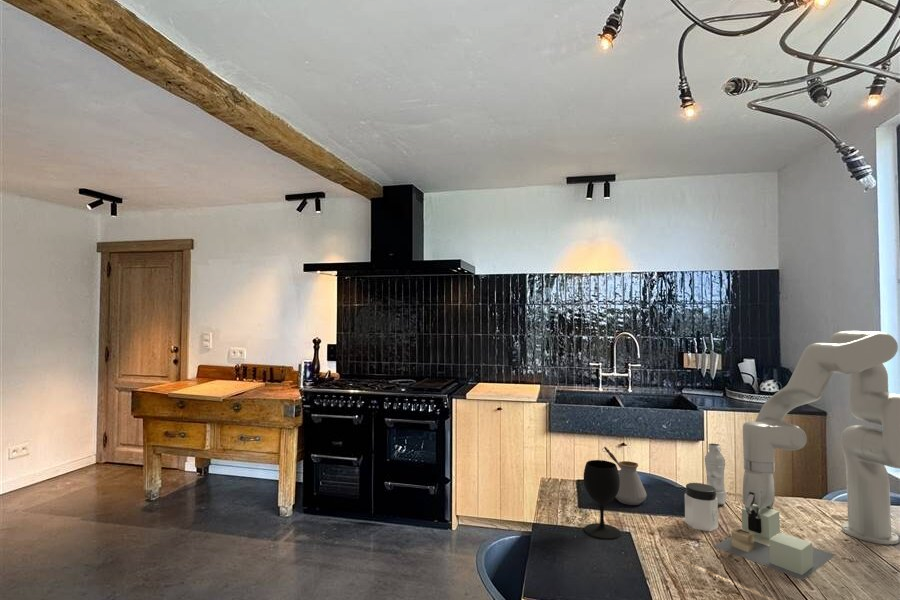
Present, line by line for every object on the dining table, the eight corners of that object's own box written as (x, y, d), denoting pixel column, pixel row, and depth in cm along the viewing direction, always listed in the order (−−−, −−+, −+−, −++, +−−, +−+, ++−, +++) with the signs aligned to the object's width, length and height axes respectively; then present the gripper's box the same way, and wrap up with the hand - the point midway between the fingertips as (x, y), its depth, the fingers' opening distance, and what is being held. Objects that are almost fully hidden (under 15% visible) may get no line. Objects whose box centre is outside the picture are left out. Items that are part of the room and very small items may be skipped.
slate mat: (750, 528, 143) (750, 526, 143) (836, 556, 125) (835, 554, 126) (713, 548, 130) (713, 545, 130) (802, 582, 113) (802, 579, 113)
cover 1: (753, 523, 141) (752, 503, 141) (779, 532, 135) (779, 511, 135) (742, 529, 137) (741, 508, 137) (769, 538, 131) (768, 516, 131)
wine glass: (621, 542, 134) (619, 471, 135) (583, 536, 137) (582, 467, 138) (620, 527, 144) (619, 460, 145) (585, 522, 147) (584, 457, 148)
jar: (707, 535, 138) (706, 494, 139) (680, 525, 145) (679, 486, 146) (722, 528, 143) (721, 488, 144) (696, 518, 150) (695, 480, 150)
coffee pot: (654, 505, 161) (653, 461, 162) (624, 508, 158) (623, 463, 159) (618, 484, 182) (617, 445, 182) (591, 487, 179) (590, 447, 180)
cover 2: (781, 555, 125) (780, 532, 125) (813, 566, 119) (812, 542, 120) (770, 563, 121) (769, 539, 121) (802, 575, 115) (801, 550, 116)
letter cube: (738, 542, 132) (738, 527, 133) (754, 548, 129) (753, 532, 129) (731, 546, 130) (731, 531, 130) (747, 552, 127) (747, 536, 127)
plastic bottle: (702, 503, 163) (701, 444, 164) (708, 498, 167) (707, 441, 168) (723, 508, 158) (721, 448, 159) (729, 503, 163) (727, 444, 164)
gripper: (758, 457, 145) (760, 516, 144) (730, 467, 135) (732, 531, 134) (786, 463, 139) (788, 525, 138) (759, 474, 129) (761, 541, 128)
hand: (760, 527), depth 136 cm, fingers closed on cover 1, 6 cm apart
